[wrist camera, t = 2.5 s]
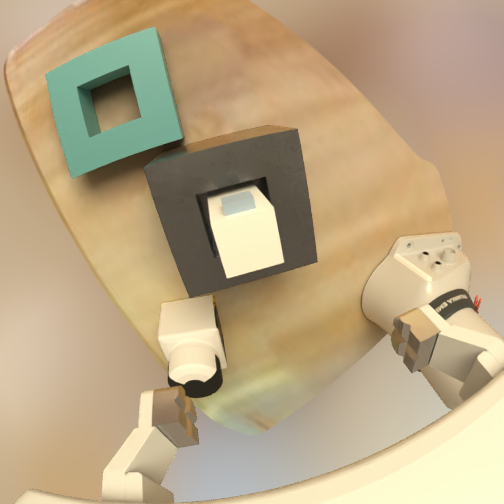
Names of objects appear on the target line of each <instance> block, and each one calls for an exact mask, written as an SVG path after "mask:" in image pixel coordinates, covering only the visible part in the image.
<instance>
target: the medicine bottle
mask: <svg viewBox="0 0 504 504" xmlns="http://www.w3.org/2000/svg"><path fill="white" fill-rule="evenodd" d="M158 341H159V343H160V346H161V348H162V350H163V353H164V355H165V357H166V359H167V362H168V384H169V385H170V387H175V386H182V387H183V388H184V390H185V396H188V397H190V398H201V397H206V396H209V395H212V394H213V393H215V392H216V391H217V390H218V389H219V388H220V387H221V385H222V382H223V378H222V371H221V369H226V368H227V360H226V354H225V347H224V340H223V334H222V329H221V325H220V321H219V316H218V312H217V308H216V303H215V299H214V296H213V295H207V296H202V297H196V298H190V299H184V300H178V301H172V302H166V303H162V305H161V313H160V321H159V329H158Z"/></svg>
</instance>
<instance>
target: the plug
mask: <svg viewBox="0 0 504 504" xmlns="http://www.w3.org/2000/svg"><path fill="white" fill-rule="evenodd" d="M207 198H208V207H209V215H210V223H211V227H212V231H213V234H214V237H215V241H216V244H217V247H218V251H219V254H220V257H221V261H222V264H223V267H224V271H225V274H226V277H227V278H231V277H234V276H238V275H242V274H245V273H249V272H252V271H256V270H260V269H263V268H267V267H270V266H274V265H277V264H281V263H284V259H283V253H282V248H281V242H280V237H279V232H278V227H277V221H276V216H275V211H274V207H273V206H272V205H271V204H270V202H269V201H268V200H267V199H266V198H265V196H264V195H263V194H262V193H261V192H260V190H259V189H258V188H257V187H256V186H255V184H254V183H253V182H252V181H251V180H250V181H246V182H242V183H238V184H234V185H230V186H226V187H222V188H219V189H215V190H211V191H208V192H207Z"/></svg>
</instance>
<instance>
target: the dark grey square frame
mask: <svg viewBox="0 0 504 504" xmlns="http://www.w3.org/2000/svg"><path fill="white" fill-rule="evenodd" d="M144 172H145V175H146V178H147V181H148V184H149V188H150V191H151V194H152V197H153V200H154V203H155V206H156V209H157V212H158V215H159V218H160V221H161V223H162V226H163V229H164V232H165V235H166V237H167V240H168V243H169V246H170V248H171V251H172V254H173V256H174V259H175V262H176V264H177V267H178V270H179V272H180V275H181V277H182V280H183V282H184V285H185V287H186V290H187V292H188V295H189V297H190V298H191V297H195V296H199V295H203V294H206V293H210V292H214V291H218V290H221V289H225V288H229V287H232V286H236V285H240V284H243V283H247V282H250V281H254V280H258V279H261V278H265V277H268V276H272V275H275V274H279V273H282V272H286V271H289V270H292V269H296V268H299V267H303V266H306V265H310V264H313V263H316V262H318V261H317V252H316V244H315V236H314V228H313V220H312V213H311V206H310V199H309V192H308V186H307V180H306V173H305V167H304V161H303V155H302V150H301V144H300V139H299V133H298V129H296V128H288V127H280V126H271V125H266V126H261V127H257V128H252V129H247V130H243V131H239V132H234V133H230V134H226V135H222V136H218V137H214V138H210V139H206V140H203V141H199V142H195V143H192V144H188V145H185V146H181V147H178V148H175V149H171V150H168V151H165V152H162V153H160V154H158V155H157V156H156V157H155V158H154V159H153V160H152V161H151V162H150V163H148V164H147V165H146V166H145V167H144ZM250 180H251V181H252V182H253V183H254V184H255V186H256V187H257V188H258V189H259V190H260V192H261V193H262V194H263V195H264V196H265V198H266V199H267V200H268V201H269V202H270V204H271V205H272V206H273V207H274V211H275V216H276V221H277V227H278V232H279V237H280V242H281V248H282V253H283V259H284V263H281V264H277V265H274V266H270V267H267V268H263V269H260V270H256V271H252V272H249V273H245V274H242V275H238V276H234V277H231V278H227V277H226V274H225V271H224V267H223V264H222V261H221V257H220V254H219V251H218V247H217V244H216V241H215V237H214V234H213V231H212V227H211V223H210V215H209V207H208V198H207V192H208V191H211V190H215V189H219V188H222V187H226V186H230V185H234V184H238V183H242V182H246V181H250Z"/></svg>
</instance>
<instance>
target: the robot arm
mask: <svg viewBox="0 0 504 504" xmlns="http://www.w3.org/2000/svg"><path fill="white" fill-rule="evenodd" d="M470 280H471V264H470V261H469V259H468V258H467V257H466V255H464V254H463V253H462V240H461V237H460V235H459V234H458V233H457V232H446V233H436V234H425V235H414V236H404V237H400V238H398V239H397V240H396V242H395V243H394V245H393V247H392V249H391V251H390V253H389V255H388V256H387V257H386V258H385V260H384V261H383V262H382V263H381V264H380V265H379V266H378V267H377V268H376V269H375V271H374V272H373V273H372V275H371V276H370V278H369V280H368V282H367V284H366V286H365V288H364V291H363V295H362V310H363V313H364V315H365V316H366V317H367V318H368V319H369V320H370V321H372V322H374V323H375V324H377V325H378V326H380V327H381V328H382V329H384V330H385V331H386V332H387V333H388V334H389V335H390V336H391V341H392V346H393V348H394V350H395V351H396V353H397V354H398V355H401V356H403V357H404V360H403V362H404V363H405V365H406V366H407V367H408V369H409V370H410V372H411V373H413V372H415V371H419V372H422V373H423V375H424V376H425V378H426V379H427V380H428V382H429V383H430V384H431V386H432V387H433V389H434V390H435V391H436V393H437V394H438V396H439V397H440V398H441V400H442V401H443V403H444V404H445V405H446V406H447V407H448V408H450V409H452V411H450V412H448V413H447V414H445V415H444V416H442V417H441V418H439V419H438V420H436V421H435V422H433V423H431V424H430V425H428V426H426V427H425V428H423V429H421V430H420V431H418V432H416V433H414V434H412V435H411V436H409V437H407V438H405V439H403V440H401V441H399V442H398V443H396V444H394V445H392V446H390V447H388V448H386V449H384V450H382V451H379V452H377V453H375V454H373V455H371V456H369V457H367V458H364V459H362V460H359V461H357V462H354V463H352V464H350V465H347V466H345V467H342V468H339V469H337V470H334V471H332V472H328V473H326V474H323V475H320V476H317V477H314V478H311V479H307V480H304V481H301V482H297V483H294V484H290V485H286V486H283V487H279V488H275V489H271V490H266V491H262V492H257V493H252V494H247V495H241V496H235V497H229V498H222V499H215V500H206V501H196V502H182V503H174V497H173V493H172V492H171V491H169V490H167V489H165V488H164V487H162V486H160V484H161V482H162V481H163V478H164V477H165V475H166V473H167V471H168V469H169V467H170V464H171V463H172V461H173V459H174V456H175V455H176V452H177V450H178V448H179V447H186V446H192V445H197V444H199V439H198V429H197V428H196V427H195V426H194V423H195V422H196V420H197V416H196V411H195V407H194V404H193V402H192V400H191V399H190V397H188V396H185V390H184V388H183V387H182V386H175V387H169V388H162V389H156V390H150V391H143V392H142V394H141V397H140V408H139V421H138V428H135V429H134V430H133V431H132V433H131V434H130V436H129V437H128V439H127V440H126V441H125V442H124V444H123V445H122V446H121V448H120V449H119V451H118V452H117V453H116V455H115V456H114V458H113V459H112V460H111V462H110V463H109V464H108V466H107V467H106V468H105V470H104V471H103V485H102V501H97V500H89V499H81V498H75V497H69V496H63V495H58V494H53V493H48V492H44V491H41V490H36V489H29V490H27V491H26V492H25V493H24V494H23V495H22V496H21V497H20V498H19V499H18V500H17V501H16V502H15V503H14V504H504V337H503V336H502V335H501V334H499V333H498V332H497V331H496V330H495V329H494V328H493V327H492V326H491V325H490V324H488V323H487V322H486V321H485V320H484V319H483V318H482V317H481V316H480V315H479V314H478V308H479V305H480V302H481V298H480V300H479V302H478V295H476V298H475V301H474V304H473V302H472V300H471V298H470V296H469V288H470ZM477 302H478V304H477Z"/></svg>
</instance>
